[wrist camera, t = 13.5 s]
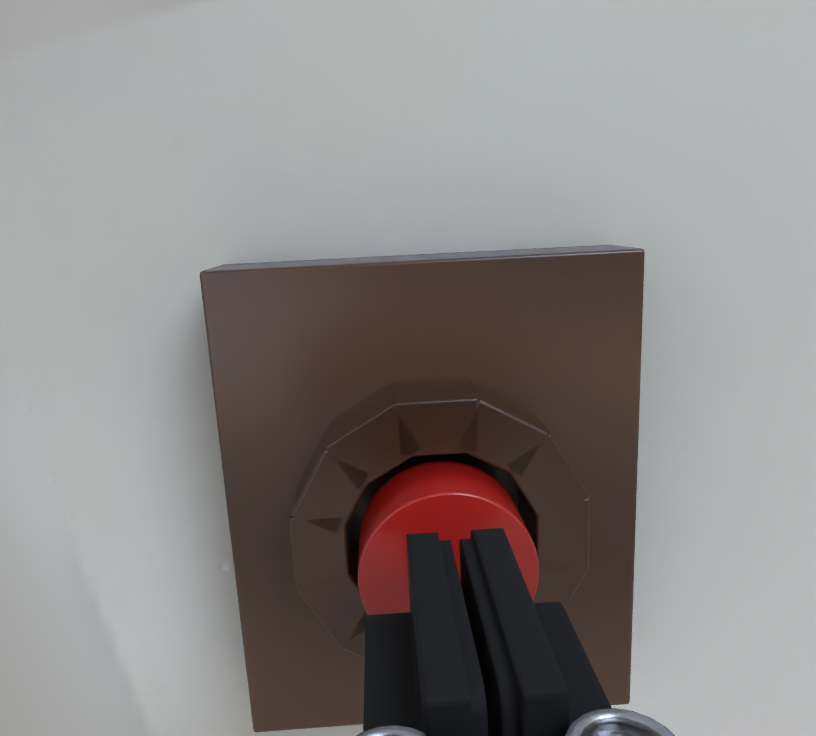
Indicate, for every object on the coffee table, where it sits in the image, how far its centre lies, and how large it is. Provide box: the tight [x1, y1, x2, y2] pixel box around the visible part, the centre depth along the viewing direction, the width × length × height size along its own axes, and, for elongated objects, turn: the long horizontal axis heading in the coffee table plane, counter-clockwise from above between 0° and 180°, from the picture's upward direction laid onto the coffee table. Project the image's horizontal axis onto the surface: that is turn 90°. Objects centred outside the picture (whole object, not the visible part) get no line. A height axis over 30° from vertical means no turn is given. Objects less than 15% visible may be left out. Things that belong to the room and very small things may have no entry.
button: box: [358, 461, 539, 615], centre depth 14 cm, size 4×4×2 cm
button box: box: [200, 245, 644, 732], centre depth 16 cm, size 12×10×4 cm
